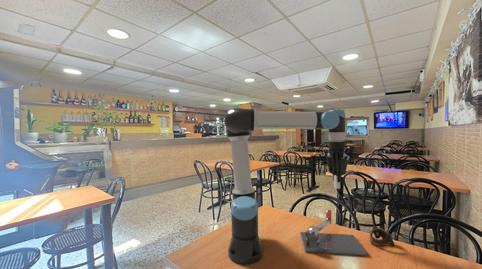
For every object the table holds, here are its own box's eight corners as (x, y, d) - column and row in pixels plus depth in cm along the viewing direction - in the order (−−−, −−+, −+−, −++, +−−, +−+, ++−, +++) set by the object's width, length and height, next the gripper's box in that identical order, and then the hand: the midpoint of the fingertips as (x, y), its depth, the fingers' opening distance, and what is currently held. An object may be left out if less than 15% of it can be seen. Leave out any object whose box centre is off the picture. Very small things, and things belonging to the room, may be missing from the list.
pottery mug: (401, 251, 91) (395, 237, 90) (380, 258, 93) (374, 245, 91) (384, 231, 103) (378, 218, 101) (365, 238, 104) (360, 226, 103)
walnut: (306, 244, 94) (306, 238, 94) (305, 241, 96) (305, 235, 96) (312, 244, 93) (311, 238, 93) (310, 241, 96) (310, 235, 96)
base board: (305, 252, 91) (304, 236, 91) (300, 236, 105) (300, 222, 105) (366, 256, 87) (366, 239, 87) (353, 238, 101) (353, 224, 101)
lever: (312, 244, 92) (312, 224, 92) (303, 240, 95) (303, 221, 95) (334, 227, 107) (333, 210, 107) (325, 225, 111) (325, 208, 110)
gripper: (354, 141, 98) (354, 190, 99) (331, 140, 110) (331, 184, 110) (343, 141, 95) (343, 192, 95) (320, 140, 107) (321, 186, 107)
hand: (337, 188), depth 103 cm, fingers closed
